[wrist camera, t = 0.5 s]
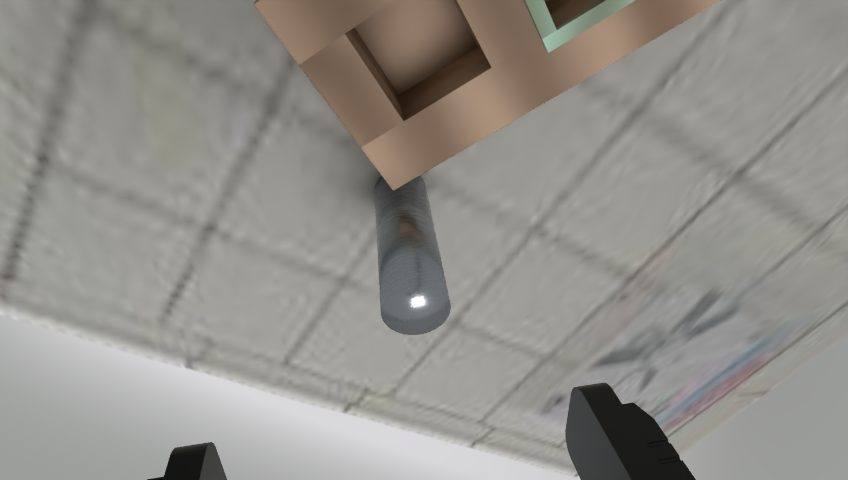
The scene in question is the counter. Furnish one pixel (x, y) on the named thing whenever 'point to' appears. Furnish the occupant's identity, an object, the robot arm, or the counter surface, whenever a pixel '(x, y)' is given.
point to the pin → (409, 260)
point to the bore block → (454, 63)
